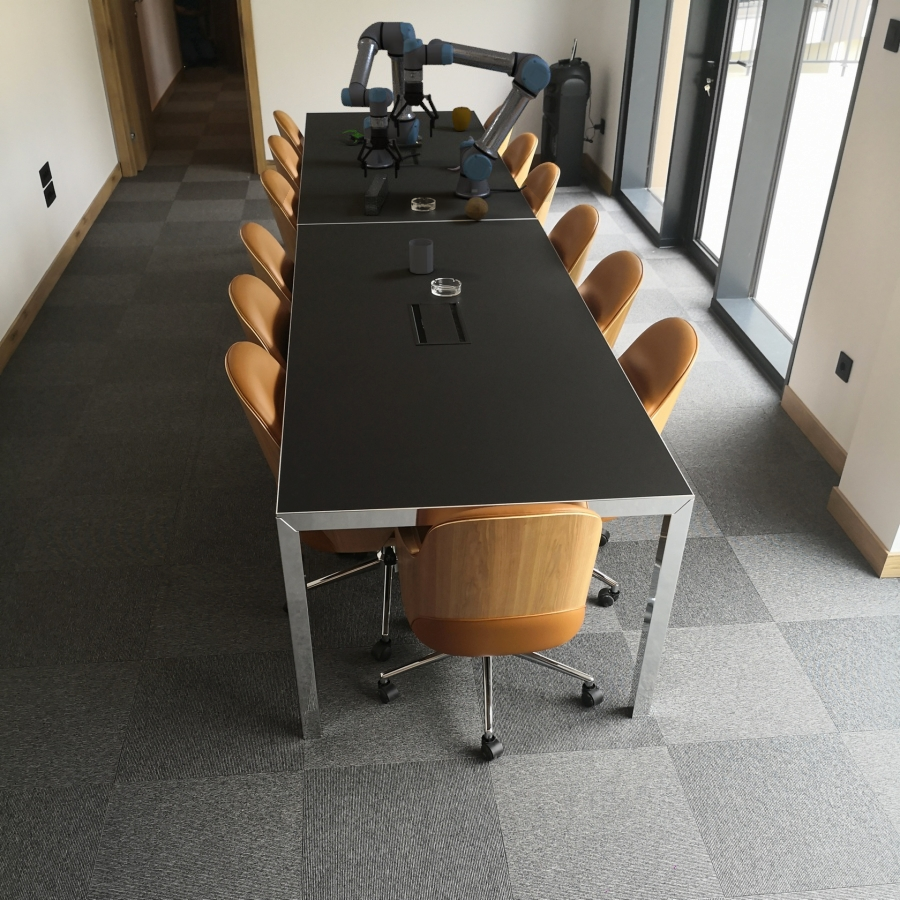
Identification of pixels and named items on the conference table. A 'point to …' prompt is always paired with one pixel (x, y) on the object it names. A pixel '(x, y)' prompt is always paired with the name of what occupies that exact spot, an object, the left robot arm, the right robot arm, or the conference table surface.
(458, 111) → the yellow bell pepper
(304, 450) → the conference table surface
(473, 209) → the potato
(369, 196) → the bar
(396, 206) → the conference table surface
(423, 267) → the cup
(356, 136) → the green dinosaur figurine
